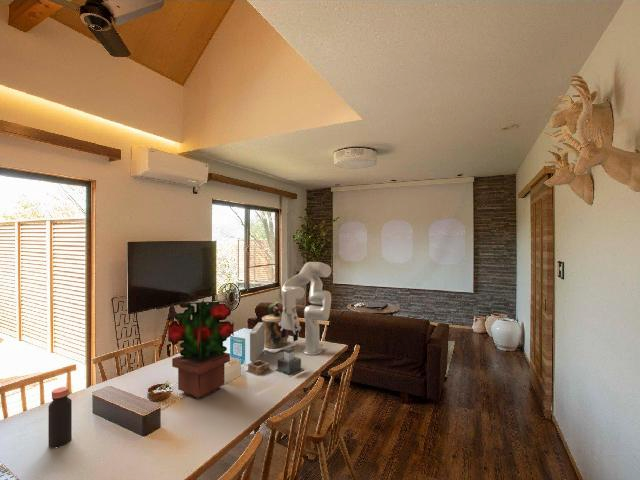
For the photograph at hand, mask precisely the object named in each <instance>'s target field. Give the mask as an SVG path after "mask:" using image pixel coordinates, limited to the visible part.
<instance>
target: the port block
mask: <svg viewBox="0 0 640 480" xmlns="http://www.w3.org/2000/svg"><path fill="white" fill-rule="evenodd" d="M274 371H275V372H278V373H280V374H283V375H286V376H288V377H289V378H292V377H293V376H296V375H298V374H299V373H301V372H304V371H305V370H304V368H302V358H300V357H297V356H294V360H292V361H290V362H288V361H285V360H284V356H283V357H281V358H279V359H277V368H276V369H274Z"/></svg>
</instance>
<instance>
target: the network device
mask: <svg viewBox="0 0 640 480" xmlns="http://www.w3.org/2000/svg"><path fill="white" fill-rule="evenodd" d="M263 349H264V322H263V321H261V322H260V321H258V322H257V324H255V326H254V327H253V328H252V329H251V331H249V362H255V361H257V360H259V358H260V356H261V355H262V354H264V355H266V354H267V351H264V350H263Z"/></svg>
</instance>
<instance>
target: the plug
mask: <svg viewBox="0 0 640 480" xmlns="http://www.w3.org/2000/svg"><path fill="white" fill-rule="evenodd" d="M283 353H284V355H283V357H284V360H285V361H288V362H290V361H292V360H294V357H295V349H294V348H293V347H289V348H286V349H284V350H283Z"/></svg>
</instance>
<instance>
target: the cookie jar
mask: <svg viewBox="0 0 640 480" xmlns="http://www.w3.org/2000/svg"><path fill="white" fill-rule="evenodd" d="M267 311H268V315H264V316H262V317H261V322H264V349H263V351H264V352H269V354H275V353H278V352H280V351H282V350H283V351H284V349H286V348H289V347H290V348H293V347H295V346H298V344H299V342H298V341H293V340H288V339H289V338H290V337H289V330H287V329H285V330H286V337H284V338H281V330H280V328H279V324H278V323H279V322H281V318H282V312H281V311H280V309H279V301H278V300H277V301H276V302H273V303H271V304H270V305H268V309H267Z"/></svg>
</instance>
